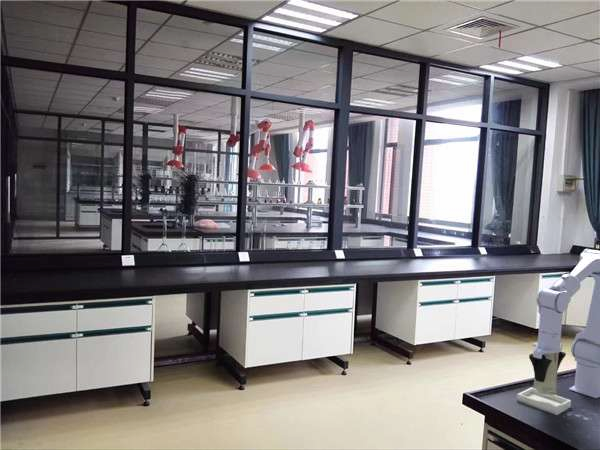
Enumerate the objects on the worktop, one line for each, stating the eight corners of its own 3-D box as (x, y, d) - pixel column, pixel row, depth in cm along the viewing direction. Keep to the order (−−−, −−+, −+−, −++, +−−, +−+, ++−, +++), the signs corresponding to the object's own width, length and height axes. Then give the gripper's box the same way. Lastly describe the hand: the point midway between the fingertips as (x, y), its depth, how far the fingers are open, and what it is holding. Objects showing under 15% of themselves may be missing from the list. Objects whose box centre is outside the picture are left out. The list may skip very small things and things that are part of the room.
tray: (531, 393, 149) (531, 387, 149) (570, 407, 140) (571, 400, 140) (516, 400, 143) (517, 394, 143) (557, 415, 134) (557, 408, 134)
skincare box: (556, 396, 138) (559, 353, 137) (539, 394, 139) (543, 351, 138) (548, 387, 144) (551, 346, 144) (532, 385, 145) (536, 344, 144)
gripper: (546, 324, 148) (542, 369, 149) (524, 331, 139) (520, 378, 139) (571, 330, 143) (567, 376, 144) (550, 338, 133) (545, 387, 134)
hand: (545, 378), depth 141 cm, fingers closed on skincare box, 7 cm apart
